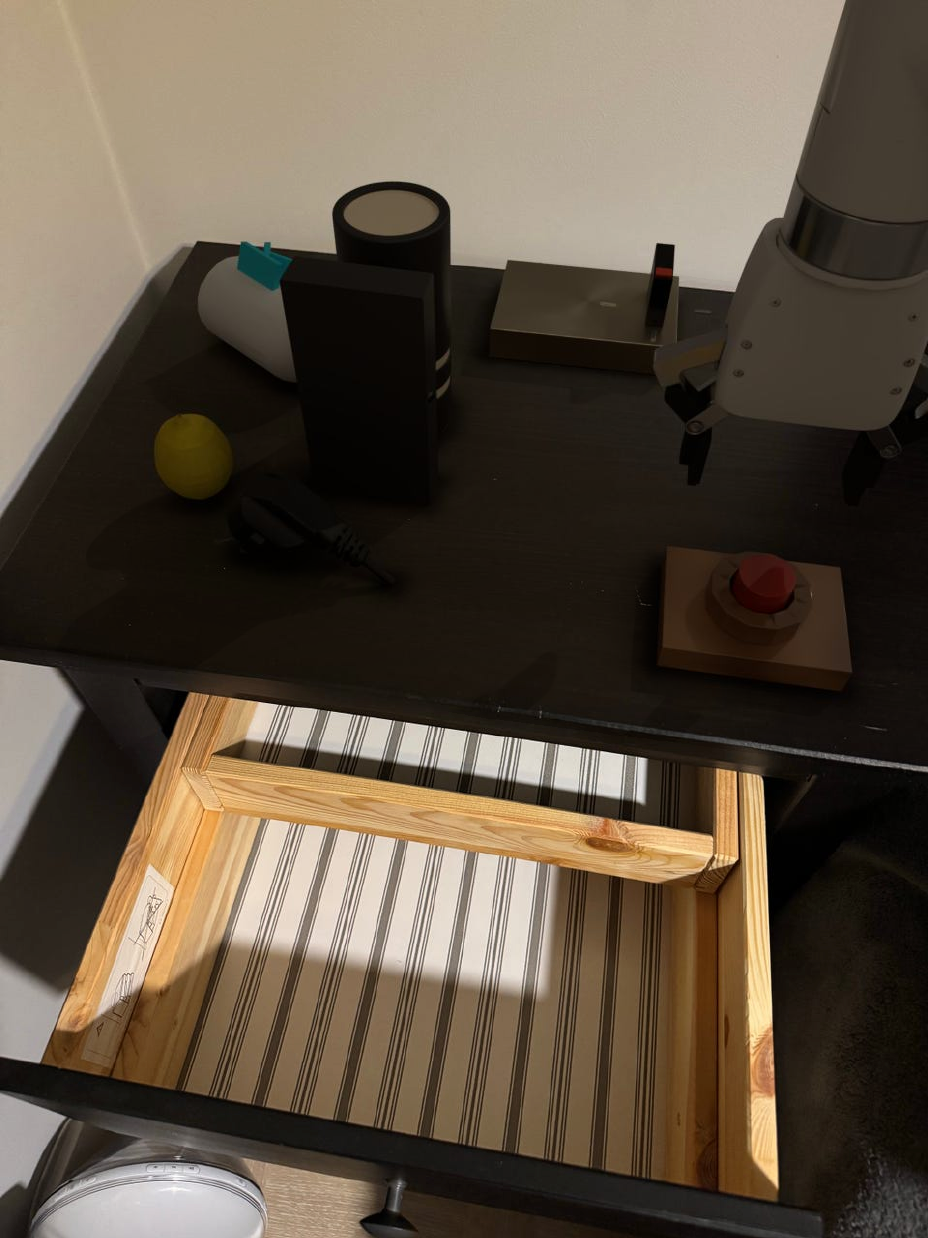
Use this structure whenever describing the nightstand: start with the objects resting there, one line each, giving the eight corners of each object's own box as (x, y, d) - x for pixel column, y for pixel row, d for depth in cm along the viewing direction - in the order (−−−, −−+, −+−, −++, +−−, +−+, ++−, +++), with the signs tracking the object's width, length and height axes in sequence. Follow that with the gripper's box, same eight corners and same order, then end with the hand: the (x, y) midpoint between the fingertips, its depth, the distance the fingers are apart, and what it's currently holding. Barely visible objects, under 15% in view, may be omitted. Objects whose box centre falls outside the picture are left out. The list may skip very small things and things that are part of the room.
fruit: (245, 514, 69) (224, 432, 62) (171, 527, 68) (141, 446, 61) (237, 465, 72) (216, 383, 66) (166, 477, 71) (138, 395, 65)
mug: (300, 289, 69) (205, 231, 74) (280, 399, 74) (193, 338, 79) (404, 287, 78) (313, 235, 83) (380, 385, 83) (295, 331, 88)
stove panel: (703, 307, 85) (711, 277, 83) (702, 380, 79) (710, 349, 76) (506, 287, 87) (507, 257, 85) (489, 357, 81) (490, 326, 78)
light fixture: (470, 393, 78) (473, 188, 63) (433, 506, 69) (427, 298, 55) (360, 378, 79) (339, 173, 65) (311, 486, 70) (275, 278, 56)
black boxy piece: (647, 289, 82) (656, 239, 78) (665, 290, 82) (675, 241, 78) (644, 324, 79) (654, 274, 75) (663, 326, 78) (673, 276, 75)
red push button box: (830, 587, 65) (849, 549, 61) (841, 691, 59) (862, 656, 56) (661, 565, 66) (671, 527, 63) (656, 666, 60) (667, 630, 57)
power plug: (381, 607, 62) (237, 496, 59) (333, 641, 68) (200, 542, 65) (414, 550, 65) (279, 442, 62) (366, 587, 71) (240, 490, 68)
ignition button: (786, 575, 60) (794, 557, 59) (789, 617, 58) (797, 600, 57) (732, 568, 61) (738, 550, 59) (732, 609, 59) (739, 592, 57)
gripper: (1038, 198, 45) (905, 458, 58) (686, 167, 47) (637, 425, 60) (1071, 282, 40) (919, 542, 54) (680, 243, 42) (628, 504, 56)
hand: (770, 480), depth 57 cm, fingers open, 9 cm apart
